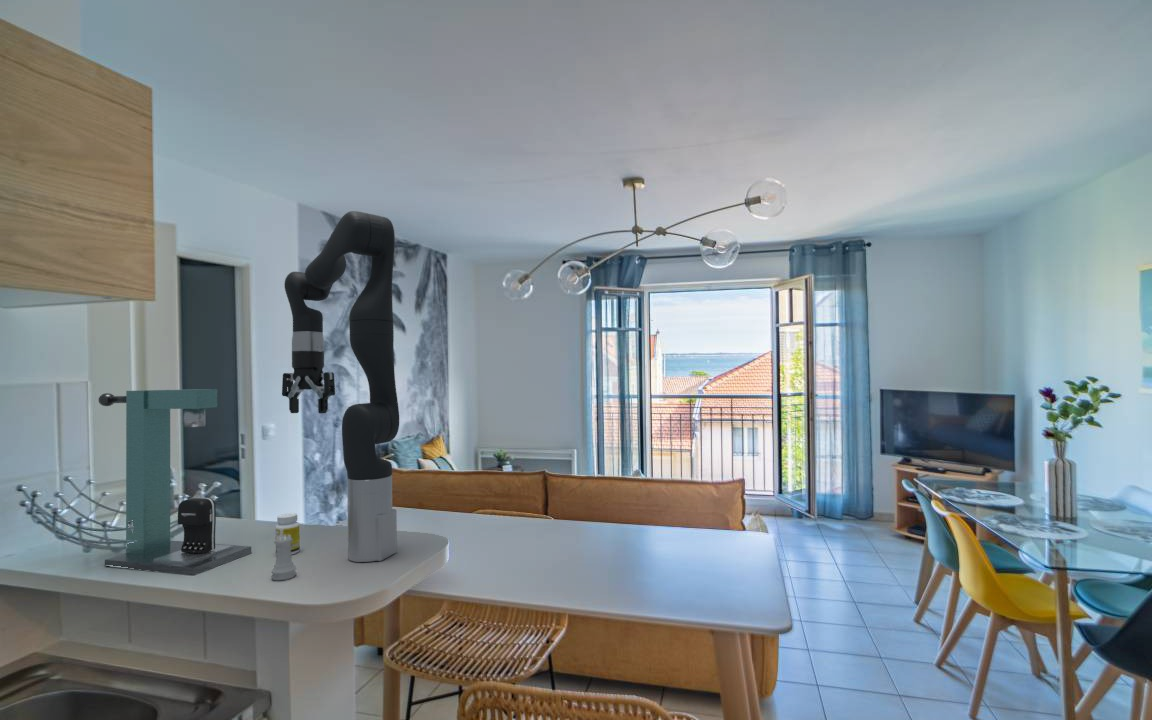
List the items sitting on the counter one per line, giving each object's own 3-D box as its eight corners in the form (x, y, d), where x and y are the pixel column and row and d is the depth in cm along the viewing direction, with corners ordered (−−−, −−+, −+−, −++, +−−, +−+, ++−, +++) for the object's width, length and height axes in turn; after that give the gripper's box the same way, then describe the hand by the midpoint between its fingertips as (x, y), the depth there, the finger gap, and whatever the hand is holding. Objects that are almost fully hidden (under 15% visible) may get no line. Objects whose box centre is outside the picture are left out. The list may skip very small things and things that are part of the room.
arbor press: (251, 553, 125) (250, 388, 126) (193, 575, 112) (193, 390, 113) (133, 543, 134) (133, 390, 135) (66, 563, 121) (67, 392, 122)
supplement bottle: (304, 549, 127) (303, 512, 127) (291, 556, 123) (291, 517, 123) (284, 549, 128) (283, 512, 128) (270, 556, 123) (270, 517, 123)
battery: (174, 554, 120) (174, 500, 120) (190, 548, 123) (190, 496, 124) (202, 555, 118) (201, 501, 119) (216, 549, 122) (216, 497, 122)
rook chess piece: (290, 571, 113) (290, 531, 113) (300, 576, 110) (300, 535, 110) (267, 578, 109) (266, 537, 110) (276, 583, 107) (276, 540, 107)
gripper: (273, 350, 142) (274, 414, 142) (321, 348, 138) (321, 414, 138) (295, 351, 149) (296, 412, 149) (341, 349, 146) (342, 412, 145)
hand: (308, 413), depth 143 cm, fingers open, 8 cm apart
